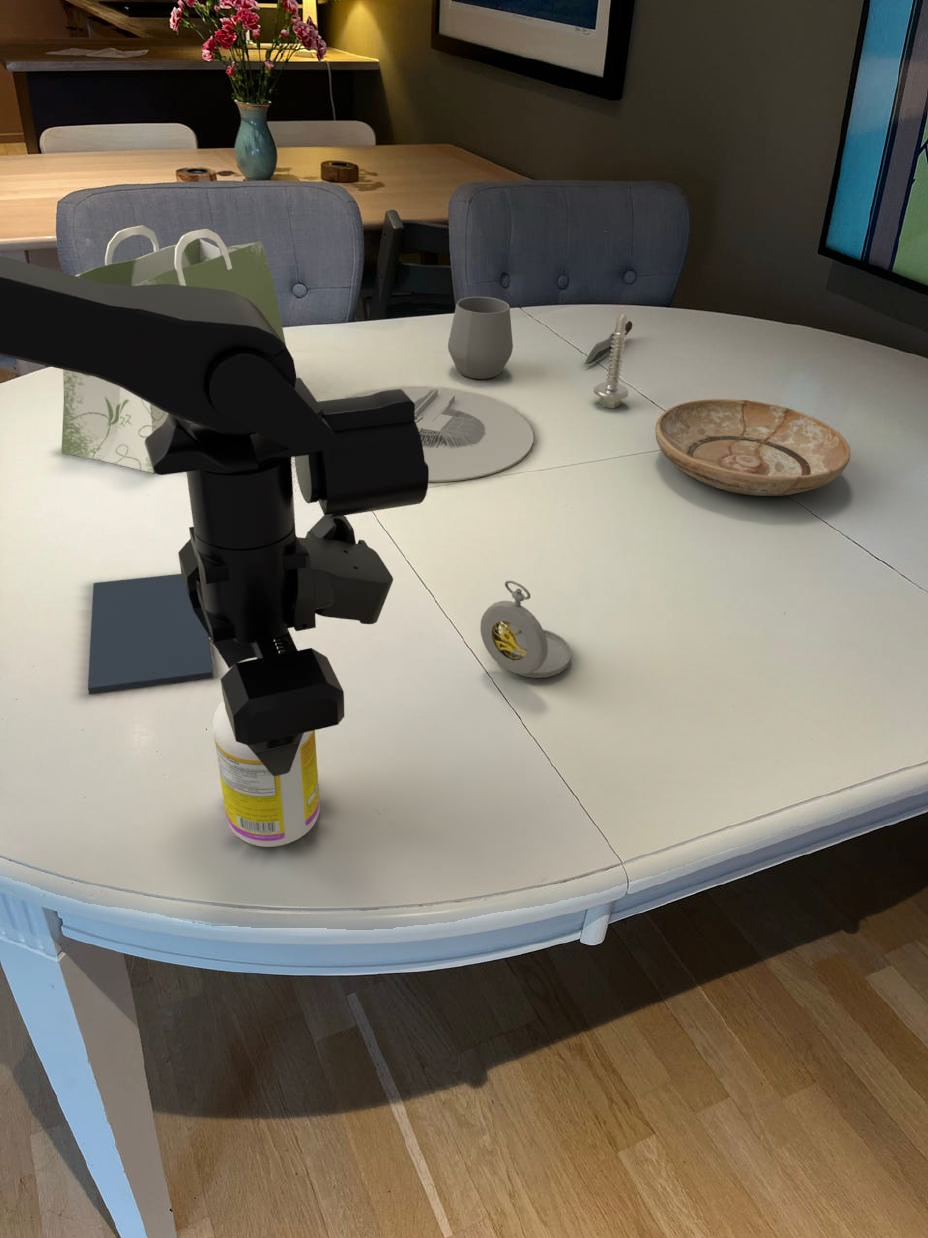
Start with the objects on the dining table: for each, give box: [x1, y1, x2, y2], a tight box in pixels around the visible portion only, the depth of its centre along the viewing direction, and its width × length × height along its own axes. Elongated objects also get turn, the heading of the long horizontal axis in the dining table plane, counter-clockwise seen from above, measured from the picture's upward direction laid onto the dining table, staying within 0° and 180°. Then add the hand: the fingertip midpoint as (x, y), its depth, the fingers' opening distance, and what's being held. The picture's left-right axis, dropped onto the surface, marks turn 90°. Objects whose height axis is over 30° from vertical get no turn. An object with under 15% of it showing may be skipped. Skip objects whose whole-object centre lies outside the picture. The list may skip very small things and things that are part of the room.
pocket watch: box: [479, 580, 572, 679], centre depth 82 cm, size 8×8×10 cm
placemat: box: [87, 573, 214, 694], centre depth 86 cm, size 16×10×1 cm, turn 16°
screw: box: [593, 311, 630, 409], centre depth 130 cm, size 13×5×5 cm
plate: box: [350, 387, 534, 483], centre depth 123 cm, size 28×28×1 cm
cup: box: [447, 296, 514, 380], centre depth 138 cm, size 10×9×10 cm
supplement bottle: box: [212, 657, 321, 848], centre depth 65 cm, size 7×7×13 cm
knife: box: [583, 320, 633, 365], centre depth 150 cm, size 18×2×3 cm, turn 150°
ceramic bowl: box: [654, 398, 851, 497], centre depth 117 cm, size 23×24×5 cm
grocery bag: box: [61, 225, 287, 474], centre depth 117 cm, size 32×14×23 cm, turn 159°
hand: (263, 727), depth 64 cm, fingers open, 9 cm apart
